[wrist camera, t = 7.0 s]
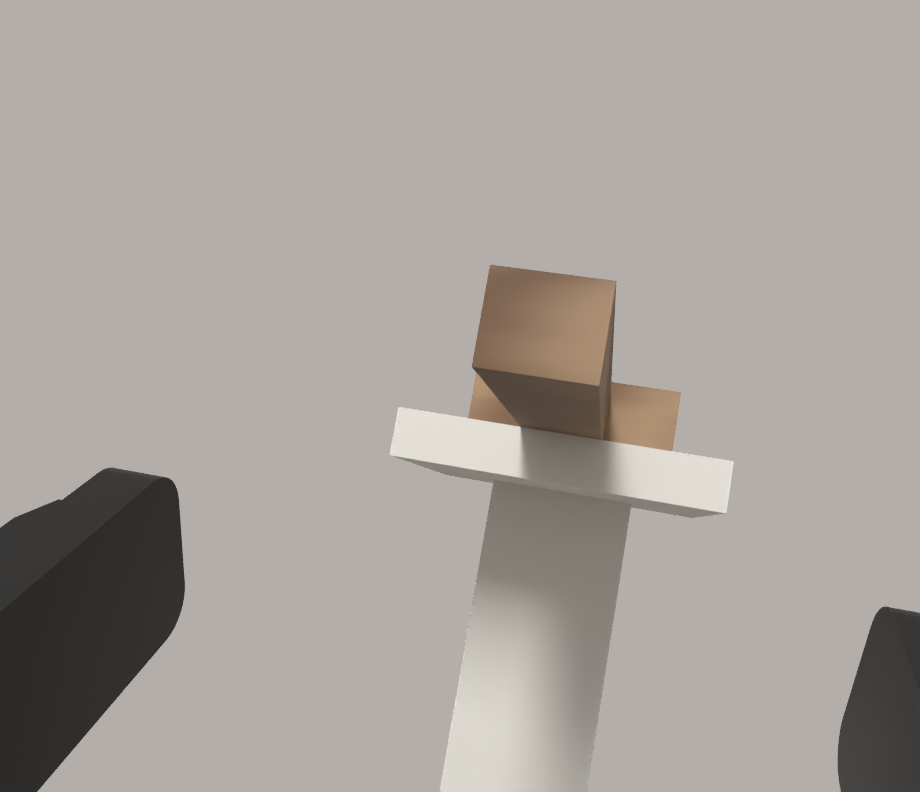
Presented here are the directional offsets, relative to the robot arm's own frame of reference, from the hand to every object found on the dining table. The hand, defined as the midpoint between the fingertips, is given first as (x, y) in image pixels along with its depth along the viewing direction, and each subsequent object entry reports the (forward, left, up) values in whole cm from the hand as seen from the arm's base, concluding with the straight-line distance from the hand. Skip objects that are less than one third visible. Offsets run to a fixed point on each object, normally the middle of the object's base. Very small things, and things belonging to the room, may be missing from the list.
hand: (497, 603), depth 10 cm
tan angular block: (-1, +17, +4) cm, 17 cm away
